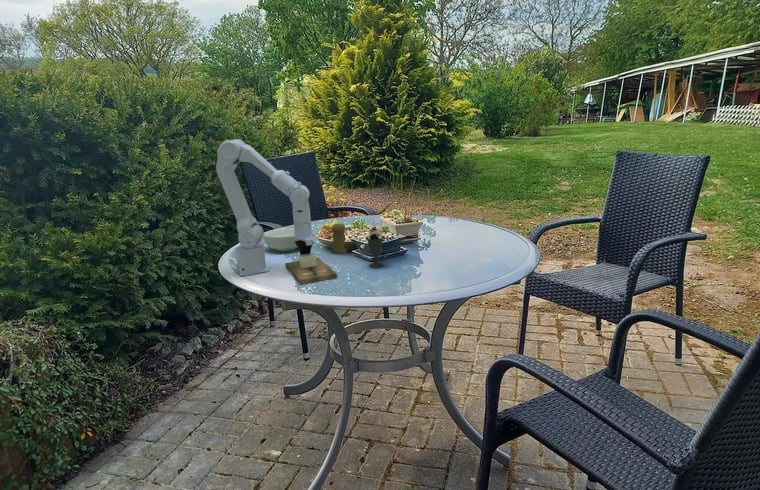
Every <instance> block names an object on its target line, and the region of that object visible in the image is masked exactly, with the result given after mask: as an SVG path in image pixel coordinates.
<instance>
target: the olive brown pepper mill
mask: <svg viewBox="0 0 760 490" xmlns="http://www.w3.org/2000/svg"><path fill="white" fill-rule="evenodd" d="M345 231H346V226H345V224H343V223H333V224H332V226H331V232H332V248H331V253H332V254H334V255H343V254H347V253H348V252H347V250H348V249H347V250H346V249H345V246H344V245H343V244H342V243H343V242H344V241H345V240H346V236H345V235H346V234H345ZM346 252H347V253H346Z"/></svg>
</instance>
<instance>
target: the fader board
mask: <svg viewBox="0 0 760 490" xmlns="http://www.w3.org/2000/svg"><path fill="white" fill-rule="evenodd" d="M284 264H285V268H286V269H287V271H288V272H289V273H290V275H292V277H293V278H294V279H295V280H296V282H298V284H299V285H300V286H301V285H306V284H312V283H318V282H323V281H328V280H334V279H338V274H337V272H336V271H334V270H333V269H332V268H331V267H330V266H329V265H328V264H326V263H325V262H324V261H323V260H322V259H320V258H319V257H316V264H317V266H314V267H308V268H301V267H300V262H299V260H297V261H291V262H285V263H284Z"/></svg>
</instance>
